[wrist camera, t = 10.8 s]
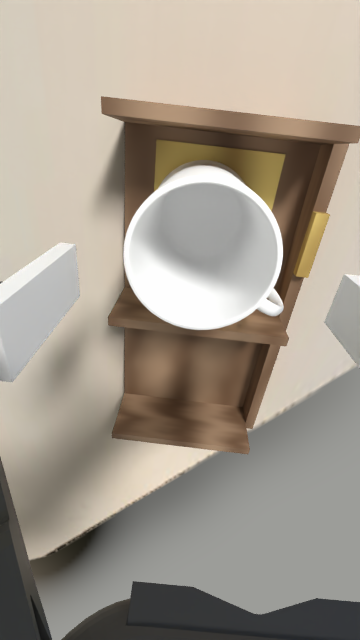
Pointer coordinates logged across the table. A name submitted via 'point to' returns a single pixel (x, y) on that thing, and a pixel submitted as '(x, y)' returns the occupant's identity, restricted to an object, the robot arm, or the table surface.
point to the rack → (257, 328)
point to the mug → (204, 249)
